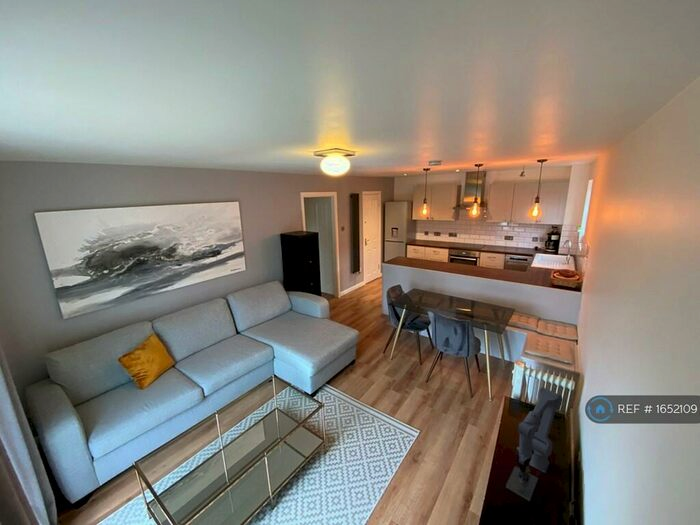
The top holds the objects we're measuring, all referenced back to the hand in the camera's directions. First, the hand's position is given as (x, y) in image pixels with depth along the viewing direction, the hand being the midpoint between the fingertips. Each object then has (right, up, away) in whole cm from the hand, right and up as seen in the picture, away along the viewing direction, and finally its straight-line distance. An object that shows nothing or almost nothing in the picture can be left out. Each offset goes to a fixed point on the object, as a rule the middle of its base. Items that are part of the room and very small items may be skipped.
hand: (524, 466), depth 154 cm
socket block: (-2, -9, -1) cm, 9 cm away
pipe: (+27, -1, +31) cm, 41 cm away
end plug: (+1, -8, +1) cm, 8 cm away
